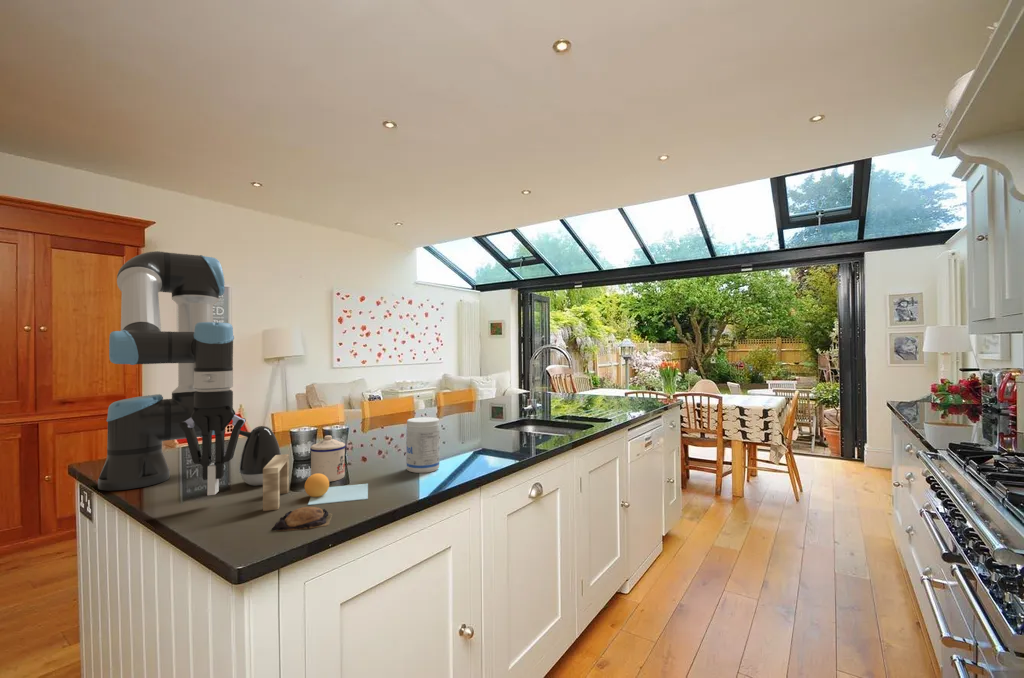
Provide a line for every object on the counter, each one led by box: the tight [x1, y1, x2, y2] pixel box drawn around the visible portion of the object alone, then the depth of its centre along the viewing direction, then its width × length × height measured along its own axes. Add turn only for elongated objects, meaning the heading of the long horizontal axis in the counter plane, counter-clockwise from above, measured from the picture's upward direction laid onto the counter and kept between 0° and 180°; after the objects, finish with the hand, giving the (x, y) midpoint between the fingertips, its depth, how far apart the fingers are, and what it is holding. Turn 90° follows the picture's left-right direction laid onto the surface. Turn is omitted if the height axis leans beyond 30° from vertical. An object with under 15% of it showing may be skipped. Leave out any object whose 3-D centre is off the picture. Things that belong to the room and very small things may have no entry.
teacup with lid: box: [309, 434, 346, 483], centre depth 129 cm, size 12×9×12 cm
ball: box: [304, 473, 330, 498], centre depth 111 cm, size 6×6×6 cm
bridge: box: [262, 453, 290, 512], centre depth 109 cm, size 3×14×9 cm, turn 17°
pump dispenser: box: [238, 425, 282, 487], centre depth 124 cm, size 10×10×15 cm
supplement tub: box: [406, 416, 440, 474], centre depth 136 cm, size 10×10×15 cm
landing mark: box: [307, 483, 369, 506], centre depth 113 cm, size 13×13×1 cm
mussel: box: [271, 506, 334, 532], centre depth 94 cm, size 11×8×4 cm
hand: (213, 493), depth 105 cm, fingers closed
